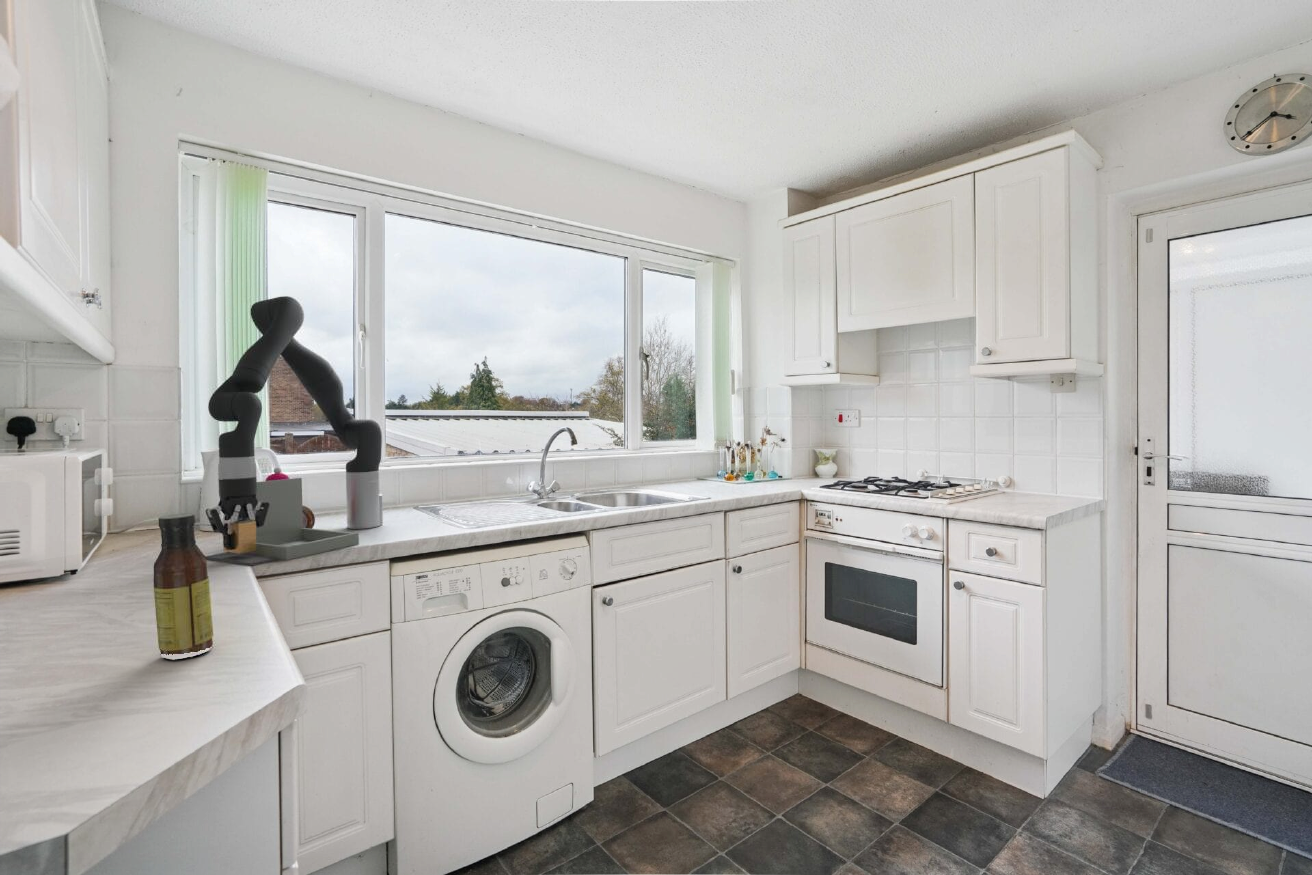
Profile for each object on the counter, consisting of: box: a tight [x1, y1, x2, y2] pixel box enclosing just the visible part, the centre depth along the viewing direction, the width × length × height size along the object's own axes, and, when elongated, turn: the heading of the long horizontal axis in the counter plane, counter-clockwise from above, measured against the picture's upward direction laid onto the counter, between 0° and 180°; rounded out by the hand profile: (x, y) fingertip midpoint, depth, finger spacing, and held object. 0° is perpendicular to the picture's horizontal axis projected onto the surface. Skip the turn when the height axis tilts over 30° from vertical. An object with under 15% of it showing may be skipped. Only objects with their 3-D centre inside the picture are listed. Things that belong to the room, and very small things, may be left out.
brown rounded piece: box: [302, 505, 316, 529], centre depth 182 cm, size 15×3×8 cm, turn 86°
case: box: [244, 477, 360, 561], centre depth 161 cm, size 20×23×17 cm
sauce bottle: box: [153, 512, 214, 655], centre depth 88 cm, size 7×6×20 cm
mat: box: [205, 552, 278, 567], centre depth 148 cm, size 6×18×1 cm, turn 65°
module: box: [222, 518, 256, 553], centre depth 148 cm, size 4×6×7 cm, turn 65°
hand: (239, 547), depth 148 cm, fingers closed on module, 4 cm apart
